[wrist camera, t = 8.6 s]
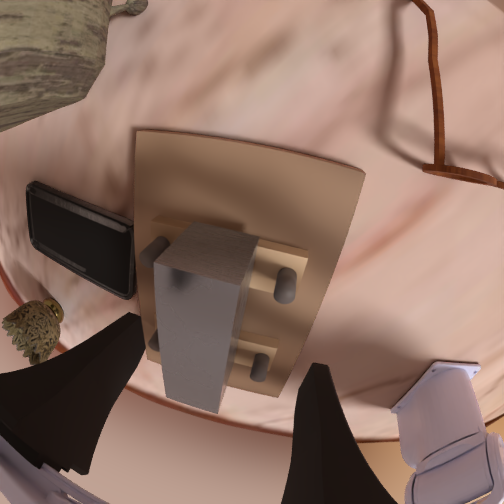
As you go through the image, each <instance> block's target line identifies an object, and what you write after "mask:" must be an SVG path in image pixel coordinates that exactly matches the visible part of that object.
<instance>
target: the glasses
mask: <svg viewBox="0 0 504 504" xmlns="http://www.w3.org/2000/svg"><path fill="white" fill-rule="evenodd" d="M412 1H413V2H414V3H415V4H416V5H417V6H418V8H419V9H420V10H421V11H422V12H423V13H424V14H425V15H426V21H427V28H428V36H429V47H428V63H429V70H430V78H431V87H432V97H433V111H434V164H424V165H423V170H422V171H423V172H425V173H429V174H433V175H437V176H442V177H446V178H451V179H456V180H461V181H466V182H471V183H477V184H483V185H489V186H494V187H498V188H501V189H504V182H500V181H497V179H496V178H494V177H492V176H490V175H487V174H484V173H481V172H477V171H473V170H469V169H465V168H460V167H454V166H448V165H444V160H445V131H444V110H443V97H442V88H441V79H440V72H439V66H438V60H437V57H438V33H437V27H436V21H435V16H434V11H433V10H432V9H431V8H430V7H429V6H428V5H427V4H426V3H425V2H424V1H423V0H412Z"/></svg>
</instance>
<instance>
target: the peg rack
mask: <svg viewBox="0 0 504 504" xmlns="http://www.w3.org/2000/svg"><path fill="white" fill-rule="evenodd" d="M365 175H366V173H365V172H364V171H363V170H361V169H358V168H354V167H351V166H348V165H344V164H341V163H337V162H334V161H330V160H326V159H322V158H319V157H315V156H311V155H307V154H303V153H298V152H294V151H290V150H285V149H280V148H276V147H271V146H266V145H261V144H256V143H250V142H245V141H239V140H233V139H226V138H220V137H213V136H206V135H198V134H190V133H181V132H170V131H159V130H140V131H137V133H136V147H135V164H134V243H135V261H136V275H137V286H138V296H139V305H140V314H141V320H142V326H143V333H144V339H145V345H146V354H147V359H148V360H150V361H153V362H156V363H158V364H161V357H160V348H159V339H158V329H157V317H156V304H155V287H154V261H155V260H156V259H157V258H158V257H159V256H160V255H161V254H162V253H163V252H164V251H165V250H166V249H167V248H168V247H169V246H170V245H171V244H172V243H173V242H174V241H175V240H176V239H177V238H178V237H179V236H180V235H181V234H182V233H183V232H184V231H185V230H186V229H187V228H188V227H189V226H190V225H191V224H192V223H193V222H194V221H195V222H200V223H204V224H208V225H213V226H217V227H222V228H226V229H230V230H234V231H239V232H243V233H247V234H252V235H256V236H260V238H259V243H258V247H257V252H256V257H255V262H254V267H253V272H252V277H251V282H250V287H249V292H248V296H247V301H246V306H245V311H244V316H243V321H242V326H241V330H240V335H239V340H238V345H237V350H236V354H235V359H234V364H233V367H232V371H231V374H230V377H229V380H228V383H227V386H230V387H234V388H238V389H242V390H246V391H250V392H254V393H258V394H263V395H267V396H272V397H277V398H278V397H279V395H280V393H281V391H282V389H283V387H284V385H285V383H286V381H287V379H288V377H289V375H290V373H291V371H292V369H293V367H294V365H295V362H296V360H297V358H298V356H299V354H300V352H301V350H302V347H303V345H304V343H305V341H306V338H307V336H308V334H309V332H310V329H311V327H312V325H313V322H314V320H315V318H316V315H317V313H318V311H319V308H320V306H321V303H322V301H323V298H324V296H325V293H326V291H327V288H328V286H329V283H330V280H331V278H332V275H333V273H334V270H335V267H336V265H337V262H338V259H339V256H340V254H341V251H342V248H343V245H344V242H345V239H346V236H347V233H348V230H349V227H350V224H351V221H352V218H353V215H354V212H355V209H356V206H357V202H358V199H359V196H360V193H361V189H362V186H363V182H364V179H365Z"/></svg>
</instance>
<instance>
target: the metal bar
mask: <svg viewBox="0 0 504 504" xmlns="http://www.w3.org/2000/svg"><path fill="white" fill-rule="evenodd" d="M259 238H260V236H256V235H252V234H247V233H243V232H239V231H234V230H230V229H226V228H222V227H217V226H213V225H208V224H204V223H200V222H195V221H194V222H193V223H192V224H191V225H190V226H189V227H188V228H187V229H186V230H185V231H184V232H183V233H182V234H181V235H180V236H179V237H178V238H177V239H176V240H175V241H174V242H173V243H172V244H171V245H170V246H169V247H168V248H167V249H166V250H165V251H164V252H163V253H162V254H161V255H160V256H159V257H158V258H157V259H156V260H155V261H154V287H155V304H156V317H157V329H158V339H159V348H160V357H161V365H162V372H163V379H164V386H165V392H166V397H167V398H170V399H173V400H175V401H178V402H181V403H184V404H187V405H190V406H193V407H196V408H199V409H203V410H206V411H209V412H213V413H216V414H218V411H219V408H220V405H221V402H222V399H223V396H224V393H225V390H226V386H227V383H228V380H229V377H230V374H231V371H232V367H233V364H234V359H235V354H236V350H237V345H238V340H239V335H240V330H241V326H242V321H243V316H244V311H245V306H246V301H247V296H248V292H249V287H250V282H251V277H252V272H253V267H254V262H255V257H256V252H257V247H258V243H259Z"/></svg>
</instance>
